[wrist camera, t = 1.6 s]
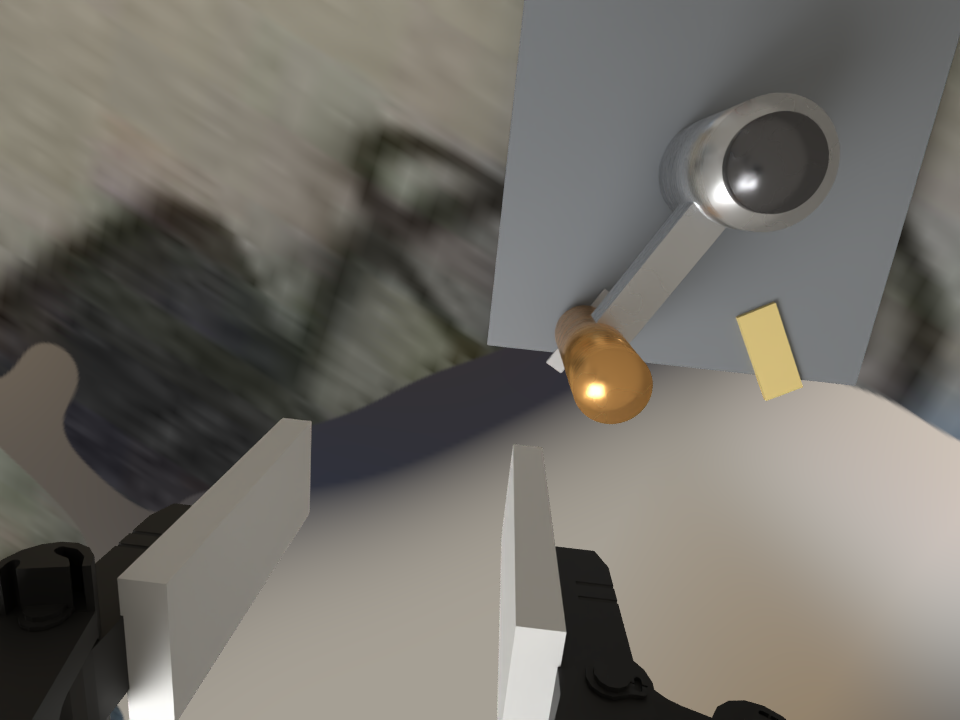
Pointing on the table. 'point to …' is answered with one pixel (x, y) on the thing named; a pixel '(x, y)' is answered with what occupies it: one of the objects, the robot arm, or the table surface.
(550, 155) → the base plate
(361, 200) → the table surface
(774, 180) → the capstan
